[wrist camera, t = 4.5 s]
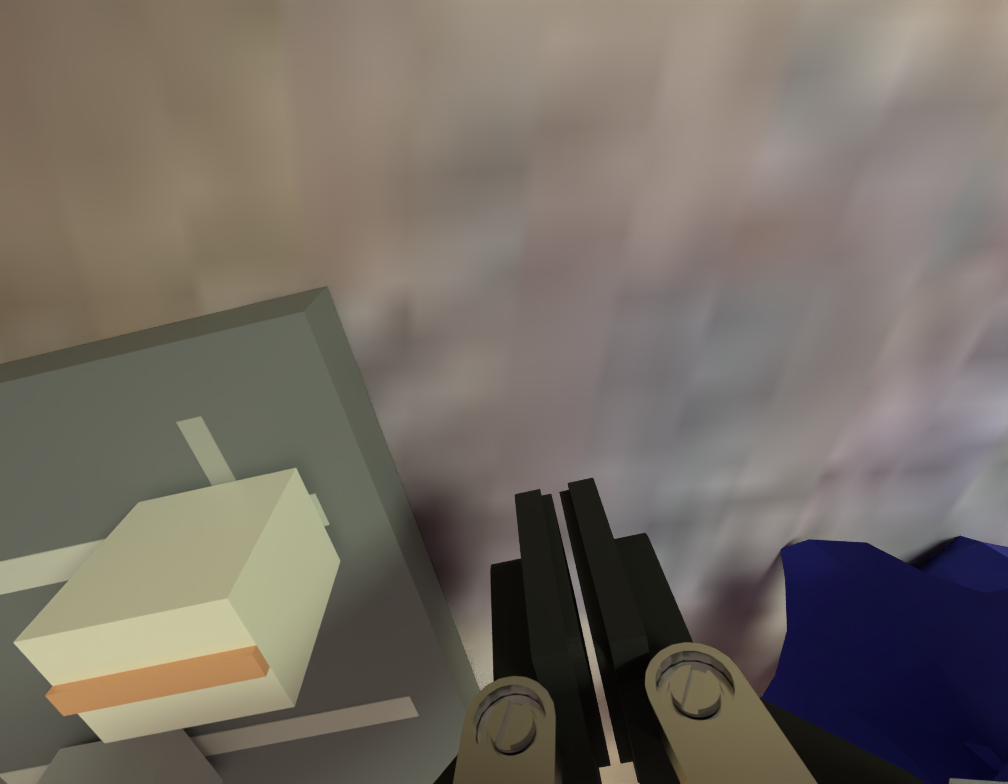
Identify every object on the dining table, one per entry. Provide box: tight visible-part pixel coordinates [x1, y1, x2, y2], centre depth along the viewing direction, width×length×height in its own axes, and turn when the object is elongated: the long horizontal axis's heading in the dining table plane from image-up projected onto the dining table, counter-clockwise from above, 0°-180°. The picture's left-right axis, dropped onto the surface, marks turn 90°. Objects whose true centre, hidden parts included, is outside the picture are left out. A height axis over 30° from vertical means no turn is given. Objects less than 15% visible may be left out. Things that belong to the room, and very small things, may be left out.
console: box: [0, 286, 480, 784], centre depth 17 cm, size 17×18×2 cm
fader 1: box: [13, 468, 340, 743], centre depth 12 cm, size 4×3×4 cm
